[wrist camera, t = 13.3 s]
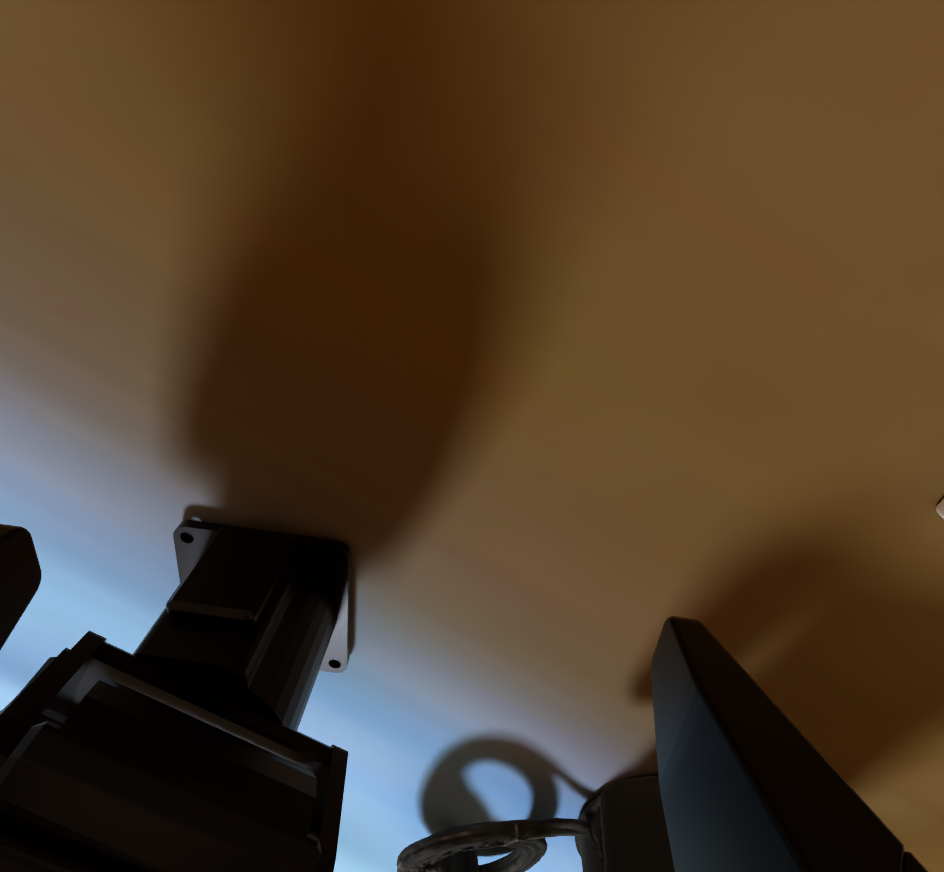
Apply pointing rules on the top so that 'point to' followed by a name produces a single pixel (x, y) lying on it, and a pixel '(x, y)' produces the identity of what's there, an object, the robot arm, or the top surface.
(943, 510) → the milk
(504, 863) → the milk frother
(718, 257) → the top surface
